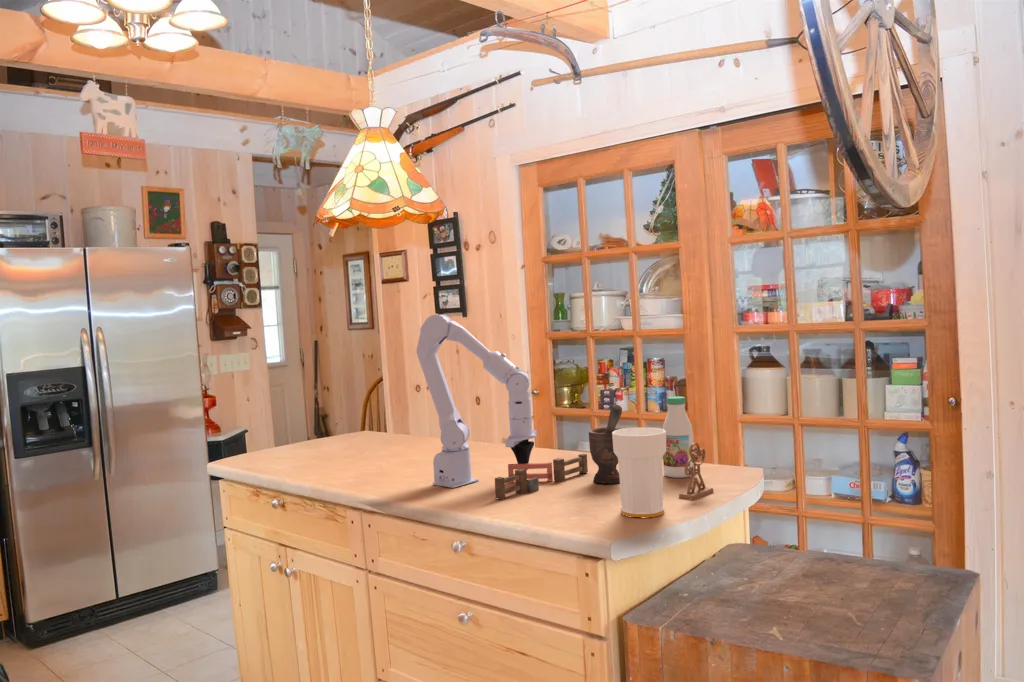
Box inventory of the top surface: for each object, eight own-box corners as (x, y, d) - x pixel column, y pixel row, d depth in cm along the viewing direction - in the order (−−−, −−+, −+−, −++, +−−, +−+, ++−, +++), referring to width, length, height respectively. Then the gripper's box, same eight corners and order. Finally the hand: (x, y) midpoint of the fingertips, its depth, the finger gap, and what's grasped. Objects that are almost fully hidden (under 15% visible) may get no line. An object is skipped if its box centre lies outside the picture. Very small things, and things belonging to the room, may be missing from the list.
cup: (642, 523, 162) (638, 437, 161) (604, 513, 171) (600, 432, 170) (681, 512, 169) (677, 430, 168) (642, 503, 178) (638, 425, 177)
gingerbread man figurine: (693, 500, 178) (691, 447, 177) (678, 498, 181) (676, 445, 180) (714, 492, 184) (712, 440, 184) (699, 490, 187) (697, 439, 186)
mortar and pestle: (641, 482, 198) (638, 402, 197) (618, 489, 192) (614, 406, 191) (607, 476, 207) (603, 399, 206) (583, 482, 201) (580, 403, 200)
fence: (504, 500, 187) (503, 477, 186) (495, 499, 189) (493, 476, 188) (591, 473, 211) (590, 452, 211) (582, 472, 213) (581, 451, 213)
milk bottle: (672, 470, 209) (669, 394, 208) (700, 473, 204) (696, 395, 203) (658, 476, 203) (654, 398, 202) (686, 479, 198) (682, 399, 197)
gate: (552, 479, 205) (551, 462, 205) (552, 480, 204) (551, 463, 204) (509, 480, 206) (508, 464, 206) (508, 482, 205) (507, 465, 205)
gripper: (521, 422, 198) (525, 476, 199) (546, 413, 211) (548, 464, 212) (496, 422, 201) (500, 475, 202) (522, 413, 214) (525, 463, 215)
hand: (523, 469), depth 207 cm, fingers closed, pressing on gate
